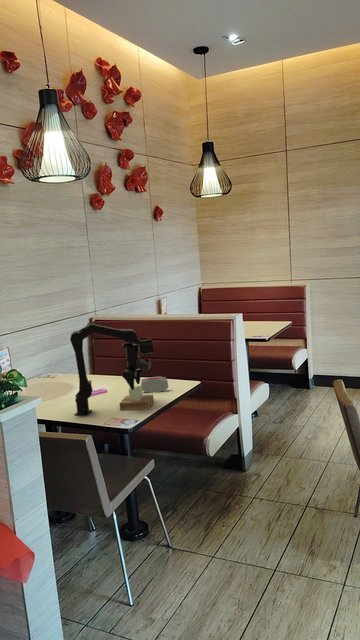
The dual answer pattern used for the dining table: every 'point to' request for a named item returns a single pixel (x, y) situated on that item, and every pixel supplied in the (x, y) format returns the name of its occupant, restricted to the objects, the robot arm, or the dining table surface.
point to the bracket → (98, 392)
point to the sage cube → (136, 393)
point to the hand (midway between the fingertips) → (135, 386)
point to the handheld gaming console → (154, 384)
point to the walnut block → (137, 403)
